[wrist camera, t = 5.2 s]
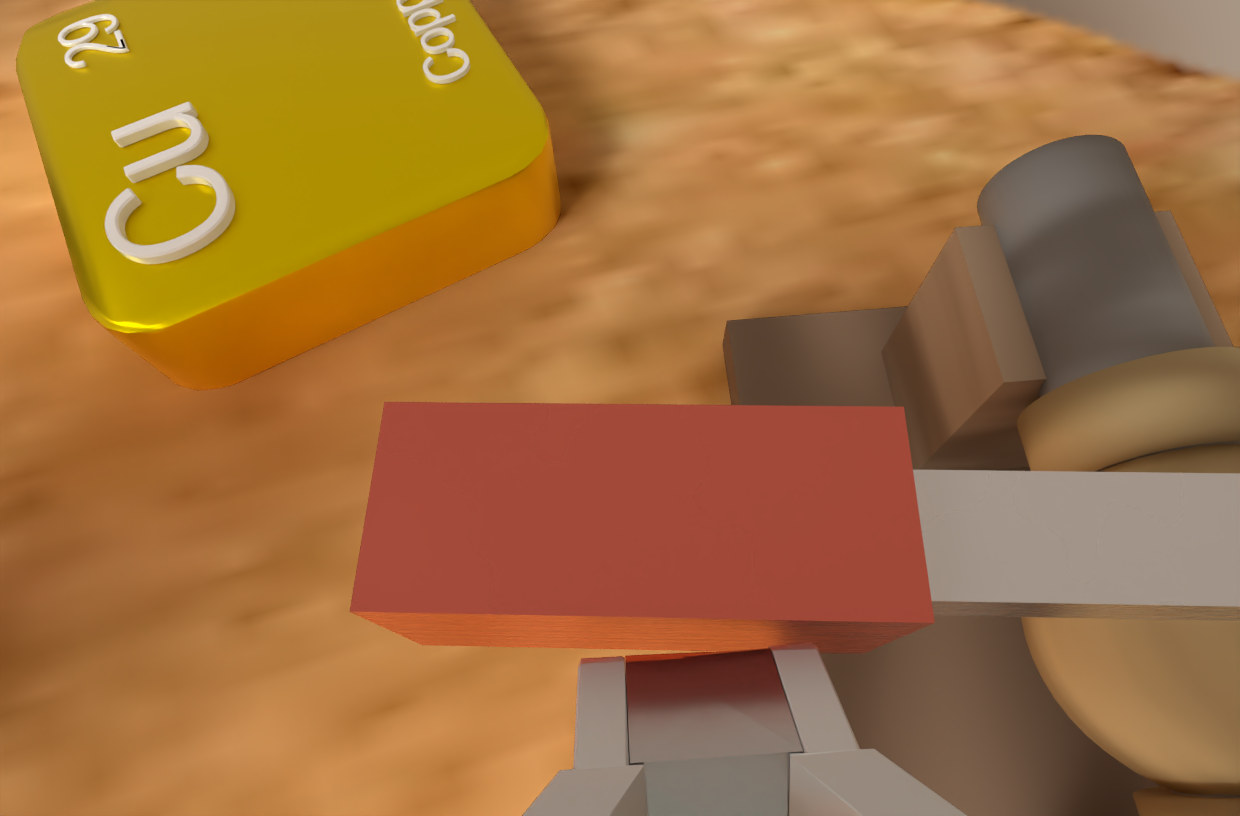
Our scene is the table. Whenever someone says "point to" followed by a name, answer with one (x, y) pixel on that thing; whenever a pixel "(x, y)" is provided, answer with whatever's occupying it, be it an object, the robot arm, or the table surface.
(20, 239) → the table surface
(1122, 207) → the valve stand
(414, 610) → the valve lever
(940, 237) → the table surface
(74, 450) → the table surface
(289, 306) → the element tile
